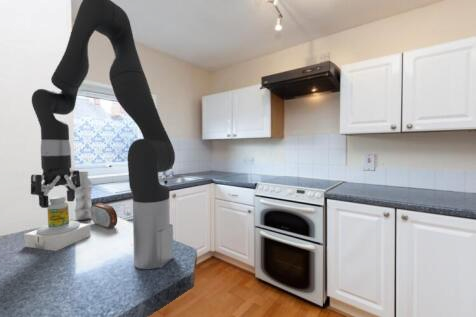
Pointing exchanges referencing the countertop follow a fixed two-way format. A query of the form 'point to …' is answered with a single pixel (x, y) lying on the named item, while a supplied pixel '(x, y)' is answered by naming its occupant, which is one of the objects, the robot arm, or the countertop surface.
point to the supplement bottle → (58, 213)
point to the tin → (104, 215)
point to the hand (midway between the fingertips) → (58, 204)
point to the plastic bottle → (83, 198)
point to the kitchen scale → (57, 236)
